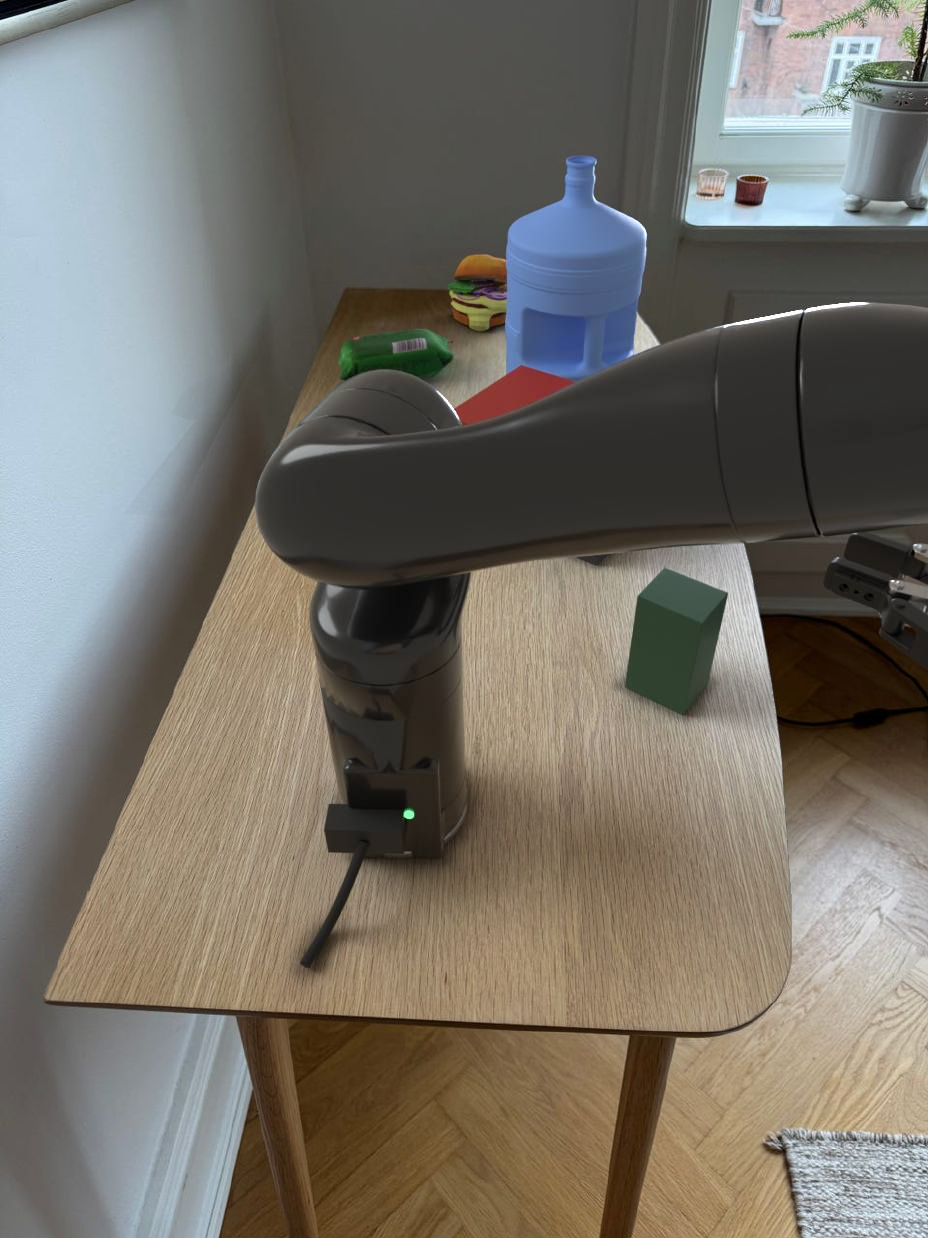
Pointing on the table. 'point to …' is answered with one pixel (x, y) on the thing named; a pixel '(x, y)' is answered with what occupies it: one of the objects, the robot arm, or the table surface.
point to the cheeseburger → (480, 292)
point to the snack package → (396, 353)
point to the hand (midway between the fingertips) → (839, 557)
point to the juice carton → (674, 639)
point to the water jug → (573, 282)
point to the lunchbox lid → (510, 394)
